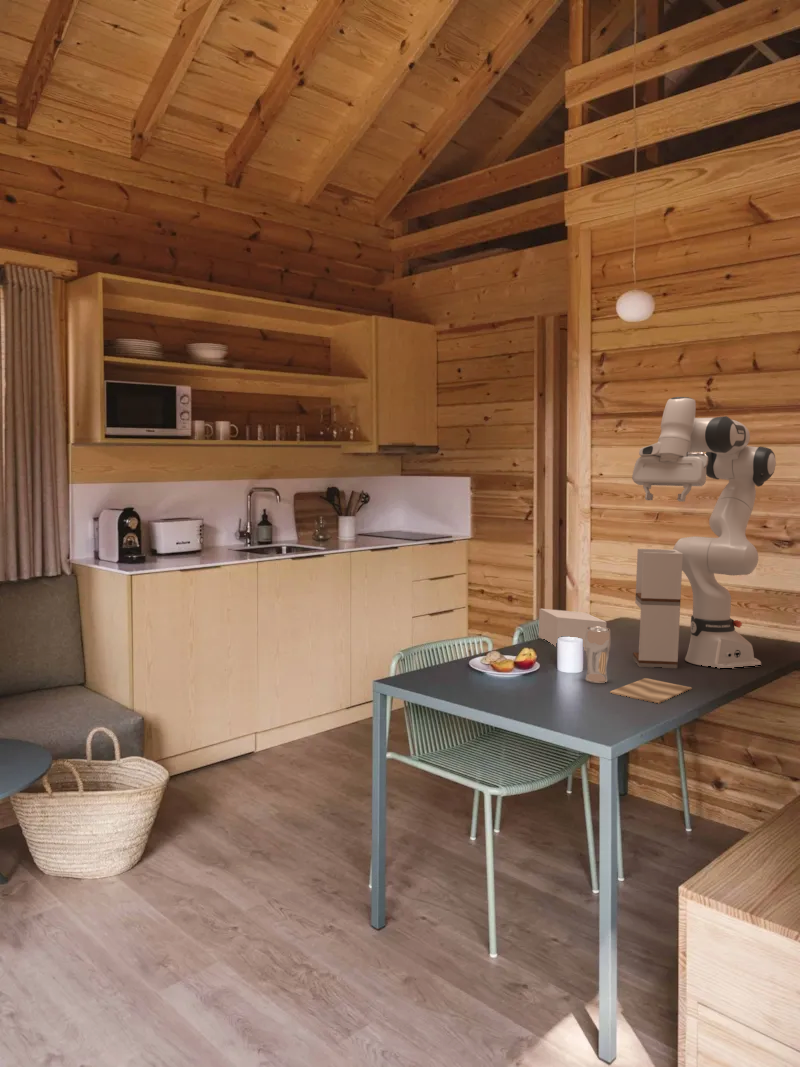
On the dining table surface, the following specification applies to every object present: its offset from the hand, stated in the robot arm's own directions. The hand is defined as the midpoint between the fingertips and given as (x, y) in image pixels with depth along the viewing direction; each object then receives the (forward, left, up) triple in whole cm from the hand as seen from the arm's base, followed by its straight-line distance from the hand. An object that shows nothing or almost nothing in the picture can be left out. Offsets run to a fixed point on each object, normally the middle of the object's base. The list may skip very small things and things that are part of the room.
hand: (664, 500), depth 239 cm
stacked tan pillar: (-11, -24, -52) cm, 58 cm away
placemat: (+4, +6, -52) cm, 52 cm away
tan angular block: (+6, -52, -52) cm, 74 cm away
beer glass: (+15, -6, -52) cm, 55 cm away
